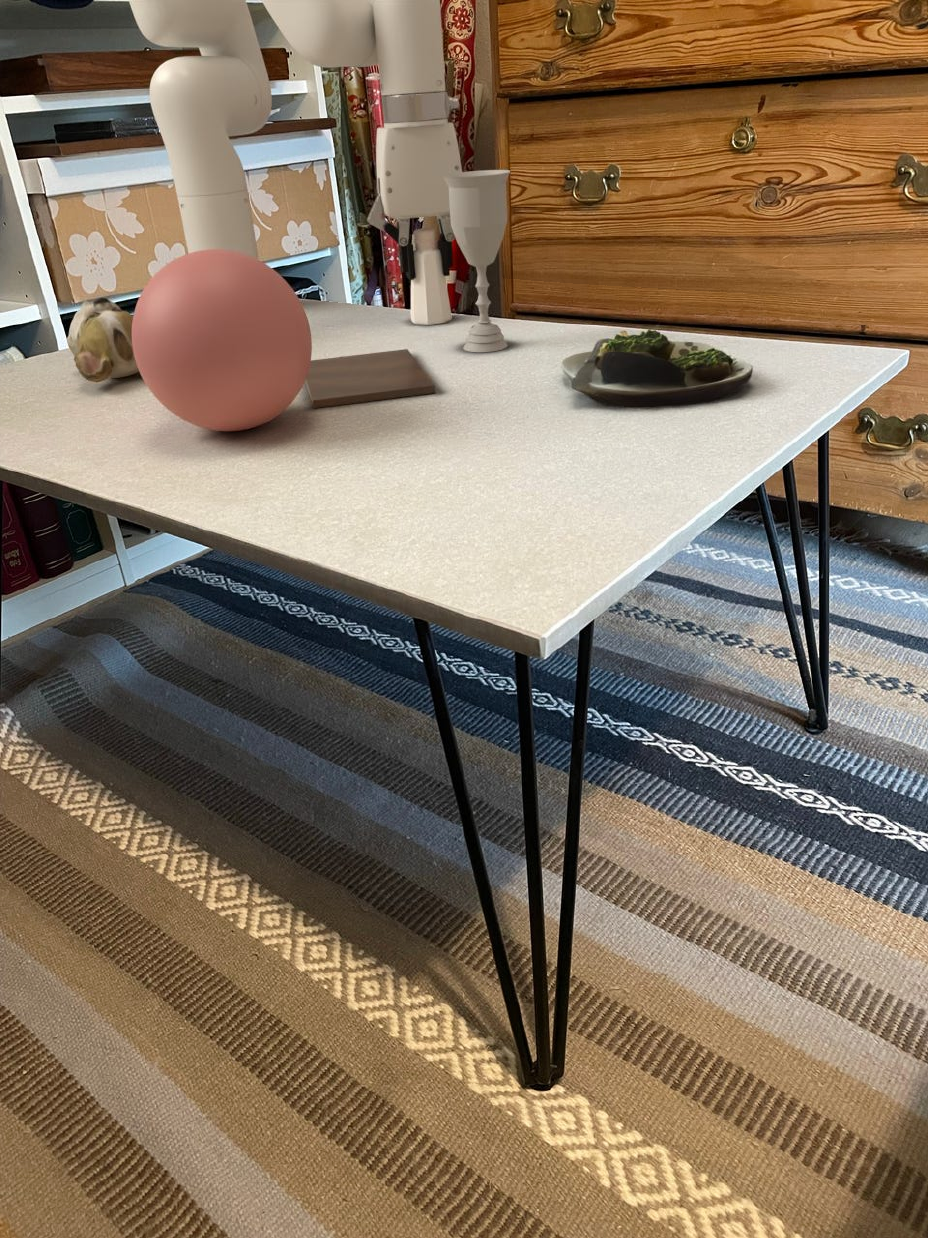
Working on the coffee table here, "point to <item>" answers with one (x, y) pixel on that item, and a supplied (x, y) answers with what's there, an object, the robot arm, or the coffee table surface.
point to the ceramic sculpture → (102, 341)
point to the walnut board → (366, 378)
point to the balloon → (221, 340)
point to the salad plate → (654, 371)
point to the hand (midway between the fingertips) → (427, 274)
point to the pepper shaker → (428, 282)
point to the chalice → (480, 239)
